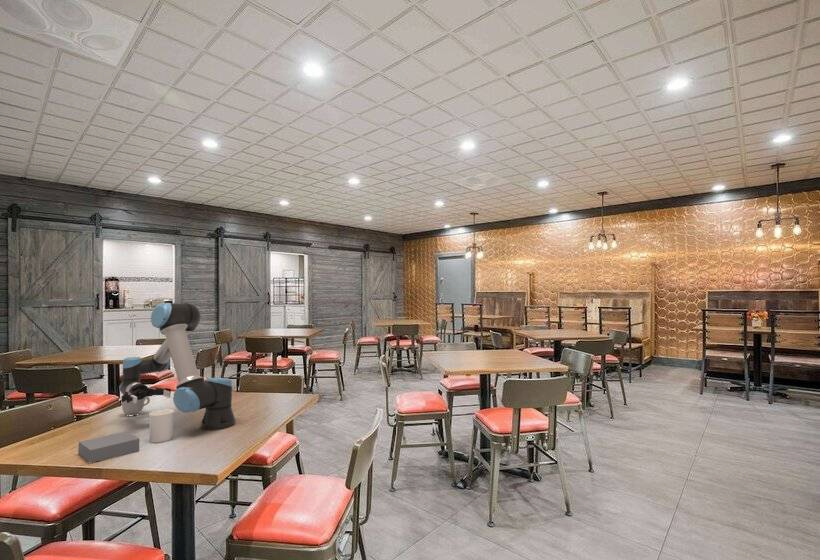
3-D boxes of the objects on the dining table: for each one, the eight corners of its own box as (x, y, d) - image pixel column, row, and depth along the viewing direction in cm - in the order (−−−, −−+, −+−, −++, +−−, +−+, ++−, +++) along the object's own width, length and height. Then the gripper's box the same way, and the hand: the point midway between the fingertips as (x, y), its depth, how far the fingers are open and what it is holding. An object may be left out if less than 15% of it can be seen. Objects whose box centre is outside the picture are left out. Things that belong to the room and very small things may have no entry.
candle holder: (146, 444, 167) (147, 416, 168) (149, 438, 176) (150, 411, 177) (172, 441, 172) (173, 413, 173) (174, 434, 180) (175, 408, 181)
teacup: (141, 418, 209) (141, 399, 209) (113, 418, 209) (114, 399, 210) (156, 412, 221) (156, 393, 221) (130, 412, 221) (130, 394, 222)
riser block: (125, 443, 170) (125, 431, 170) (139, 451, 160) (139, 438, 161) (78, 454, 157) (78, 441, 158) (89, 463, 148) (90, 450, 148)
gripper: (165, 394, 204) (182, 400, 191) (106, 403, 184) (120, 411, 171) (165, 379, 204) (182, 384, 191) (106, 387, 185) (121, 394, 172)
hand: (153, 397), depth 181 cm, fingers open, 13 cm apart
